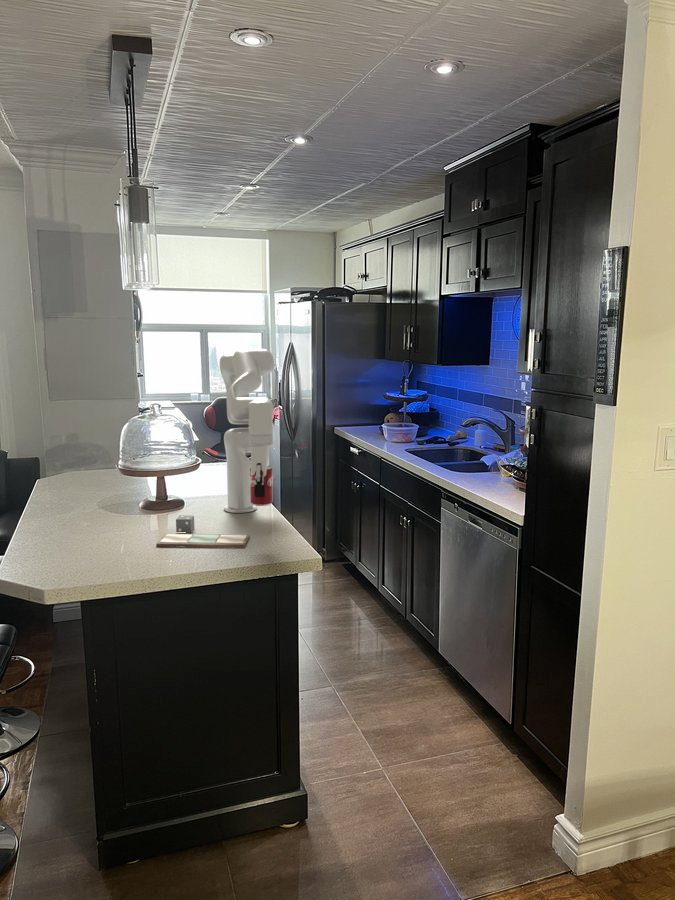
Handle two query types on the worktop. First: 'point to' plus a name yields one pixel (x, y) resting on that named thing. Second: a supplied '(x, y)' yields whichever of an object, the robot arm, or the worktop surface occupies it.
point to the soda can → (268, 489)
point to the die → (185, 523)
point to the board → (203, 540)
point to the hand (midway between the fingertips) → (261, 493)
